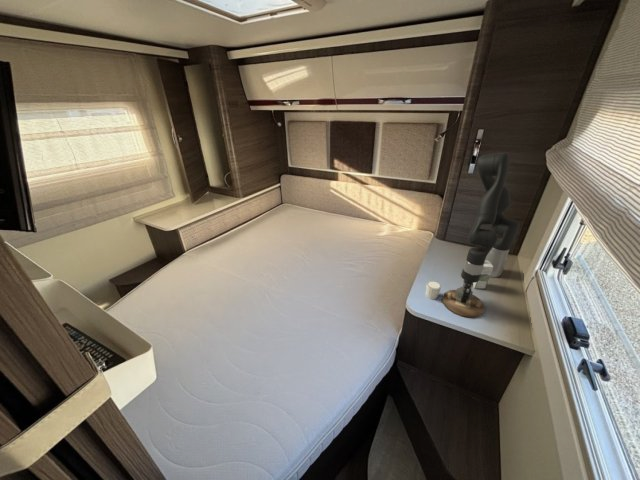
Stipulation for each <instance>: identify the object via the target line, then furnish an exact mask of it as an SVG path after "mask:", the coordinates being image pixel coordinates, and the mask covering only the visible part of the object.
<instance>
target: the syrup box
mask: <svg viewBox="0 0 640 480" xmlns="http://www.w3.org/2000/svg"><path fill="white" fill-rule="evenodd" d="M492 270H493V266H492V264H491V263H490V262H489V261H485V262H484V267H483V270H482V273H481V276H480V279H479V281H478V282H474V283H473V287H472V288H473V289H477V290H478V289H479V290H480V289H481V290H482V289H483V290H485V289H486V288H487V285H488V283H489V280H490V275H491V272H492Z"/></svg>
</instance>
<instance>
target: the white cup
mask: <svg viewBox="0 0 640 480" xmlns="http://www.w3.org/2000/svg"><path fill="white" fill-rule="evenodd" d="M441 289H442V284H441V283H440V282H438V281H436V280H428V281H427V282H426V288H425V297H426V298H428V299H430V300H436V299H438V297H439V294H440V292H441Z"/></svg>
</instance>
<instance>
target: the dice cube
mask: <svg viewBox="0 0 640 480" xmlns="http://www.w3.org/2000/svg"><path fill="white" fill-rule="evenodd" d="M462 289H463V285H462V286H460V287H458V288H456V289H455V290H456V293H455V296H454V297H455V298H456V299H458V300H459V301H461V298H462V294H463V291H462ZM464 290H465V289H464ZM473 293H474V292H473V290H471V293H470V295H469V298H468V299H467V301H469V300H470V299H471V296H472V294H473ZM467 301H466V302H467Z"/></svg>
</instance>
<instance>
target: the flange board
mask: <svg viewBox="0 0 640 480" xmlns="http://www.w3.org/2000/svg"><path fill="white" fill-rule="evenodd" d="M455 293H456V289H450V290H447V291H446V292H444V293H443V295H442V299H441V300H442V304H443V306H444V307H445V308H446V309H447V310H448V311H449V312H451V313H452V314H454V315H457V316H459V317H463V318H466V319H467V318H469V319H472V318H474V319H475V318H478V317H480V316H482V315H483V313H484V311H485V305H484V303H483V302H482V300H481V299H480V298H478V297H477V295H475V294H473V293H472V296H471V299H470V300H469V301H467V302H466V303H462V302H461V301H459V300H458V299H456V298H455V297H454V296H455Z"/></svg>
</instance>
